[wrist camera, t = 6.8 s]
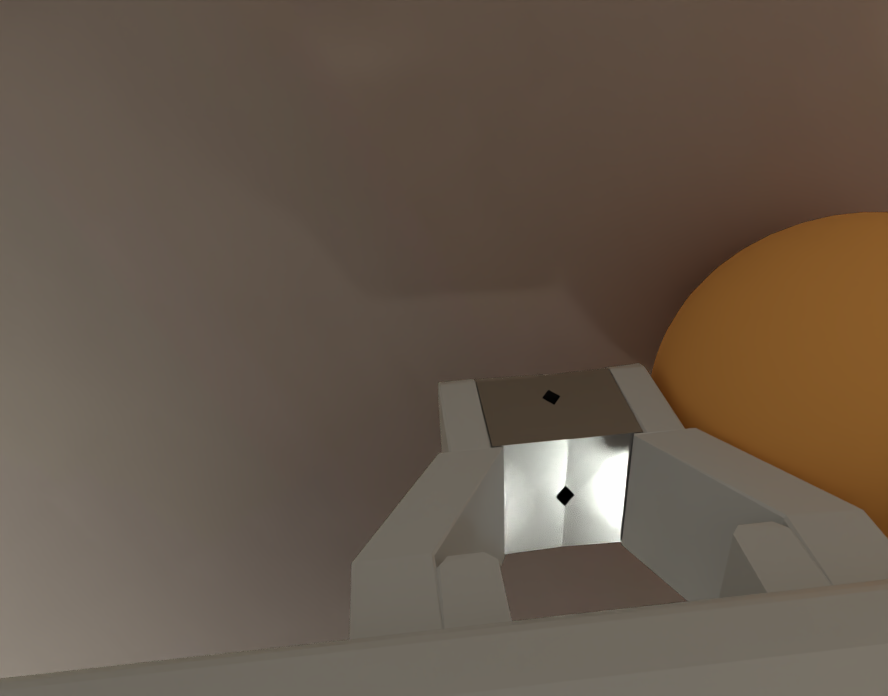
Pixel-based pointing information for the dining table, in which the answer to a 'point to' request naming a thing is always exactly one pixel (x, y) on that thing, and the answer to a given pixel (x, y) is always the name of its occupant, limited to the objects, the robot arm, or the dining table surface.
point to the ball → (793, 356)
